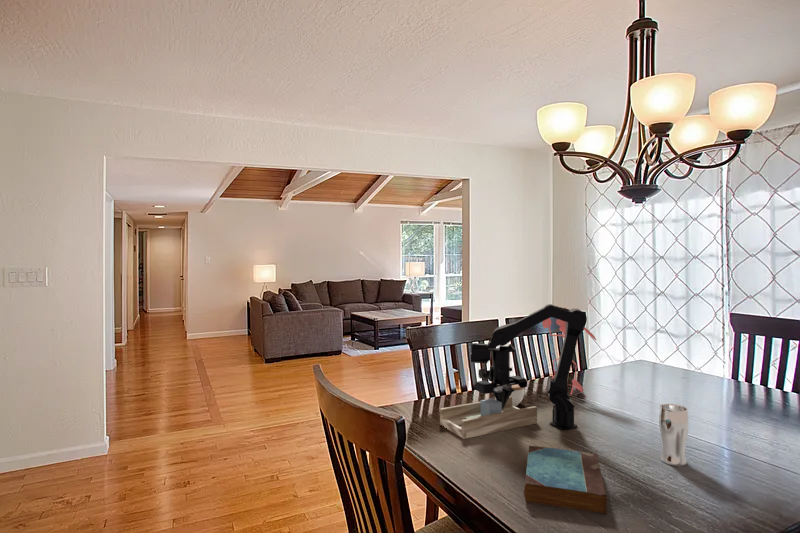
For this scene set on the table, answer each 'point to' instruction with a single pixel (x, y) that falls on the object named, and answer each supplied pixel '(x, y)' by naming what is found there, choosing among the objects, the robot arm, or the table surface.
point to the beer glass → (673, 433)
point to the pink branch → (561, 323)
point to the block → (490, 407)
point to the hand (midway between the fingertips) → (501, 409)
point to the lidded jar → (517, 394)
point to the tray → (485, 419)
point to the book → (564, 479)
